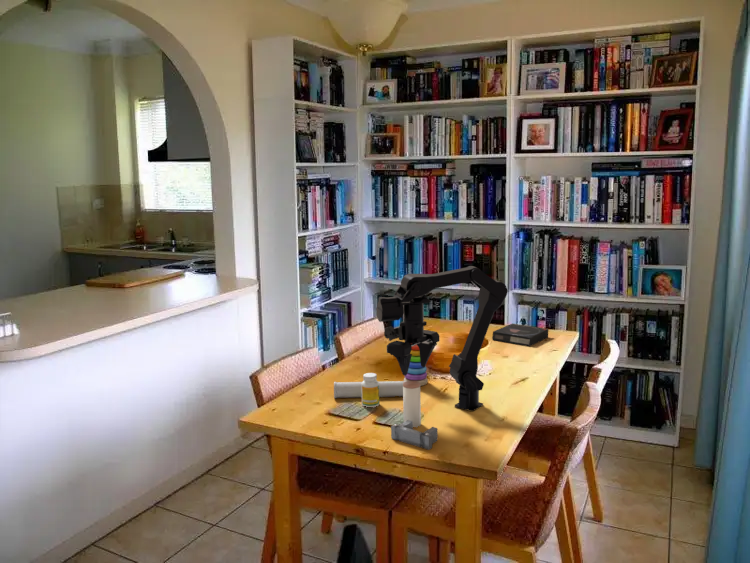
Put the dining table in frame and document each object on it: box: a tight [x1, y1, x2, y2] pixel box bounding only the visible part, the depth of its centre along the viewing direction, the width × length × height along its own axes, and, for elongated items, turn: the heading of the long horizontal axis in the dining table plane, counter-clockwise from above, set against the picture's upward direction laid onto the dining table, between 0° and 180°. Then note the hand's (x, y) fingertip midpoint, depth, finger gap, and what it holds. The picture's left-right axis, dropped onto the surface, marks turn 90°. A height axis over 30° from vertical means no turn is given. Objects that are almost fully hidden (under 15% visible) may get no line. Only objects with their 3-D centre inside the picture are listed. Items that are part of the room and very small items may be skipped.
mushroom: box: [402, 381, 422, 428], centre depth 183 cm, size 5×5×12 cm
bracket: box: [390, 420, 439, 450], centre depth 173 cm, size 6×12×4 cm, turn 52°
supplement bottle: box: [361, 372, 380, 408], centre depth 198 cm, size 5×5×10 cm
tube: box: [333, 380, 406, 399], centre depth 206 cm, size 5×5×25 cm
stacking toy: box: [403, 345, 428, 387], centre depth 216 cm, size 8×8×19 cm
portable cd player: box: [491, 323, 549, 348], centre depth 268 cm, size 16×17×4 cm
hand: (414, 371), depth 189 cm, fingers open, 9 cm apart
